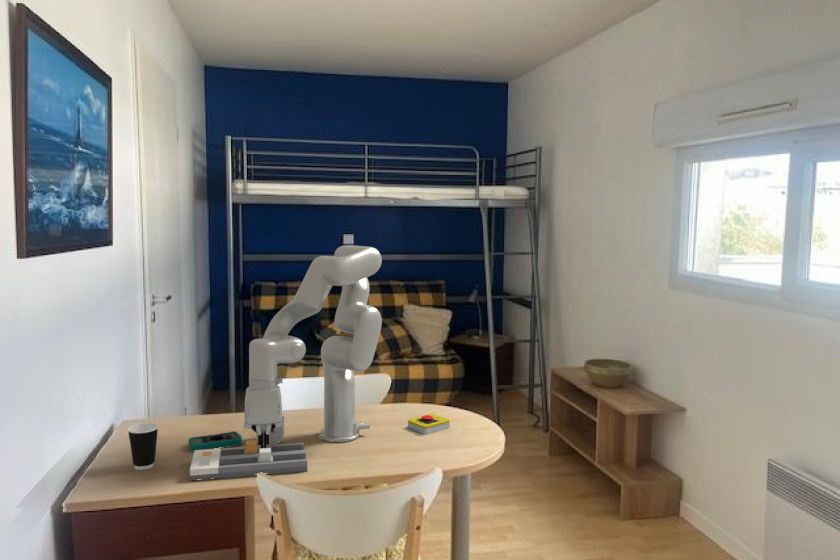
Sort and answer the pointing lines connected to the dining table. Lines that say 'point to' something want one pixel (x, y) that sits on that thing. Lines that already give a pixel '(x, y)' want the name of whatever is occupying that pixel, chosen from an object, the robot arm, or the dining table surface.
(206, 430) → the dining table surface
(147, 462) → the dixie cup
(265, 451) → the tab white
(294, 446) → the switch panel
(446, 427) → the emergency button
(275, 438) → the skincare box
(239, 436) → the digital multimeter
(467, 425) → the dining table surface
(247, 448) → the tab orange
